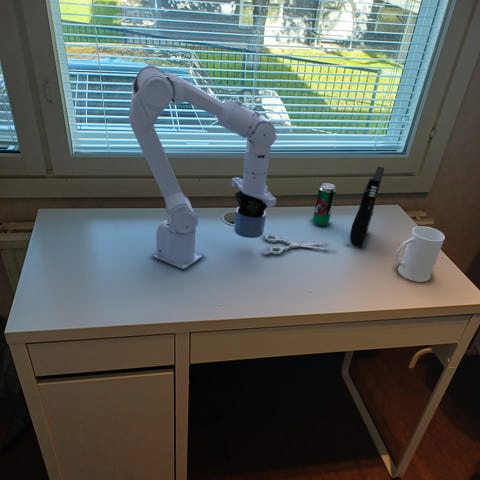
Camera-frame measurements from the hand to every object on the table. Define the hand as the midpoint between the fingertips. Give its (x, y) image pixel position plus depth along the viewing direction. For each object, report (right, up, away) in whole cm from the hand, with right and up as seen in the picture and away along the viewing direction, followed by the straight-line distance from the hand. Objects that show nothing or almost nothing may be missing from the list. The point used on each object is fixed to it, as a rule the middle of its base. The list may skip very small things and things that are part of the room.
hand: (249, 222), depth 121 cm
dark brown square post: (0, -2, +1) cm, 2 cm away
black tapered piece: (+32, -1, +19) cm, 38 cm away
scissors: (+14, -5, +12) cm, 18 cm away
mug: (+43, -13, +6) cm, 45 cm away
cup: (0, -2, +1) cm, 2 cm away
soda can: (+22, +5, +26) cm, 34 cm away
